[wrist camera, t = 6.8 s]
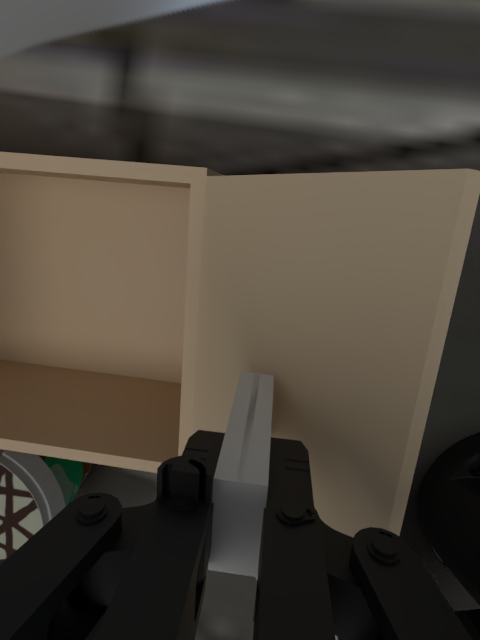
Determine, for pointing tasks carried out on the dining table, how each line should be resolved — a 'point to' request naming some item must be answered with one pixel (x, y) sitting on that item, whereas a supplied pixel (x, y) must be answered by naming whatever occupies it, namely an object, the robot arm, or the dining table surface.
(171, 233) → the carton
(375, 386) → the flap
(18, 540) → the food container
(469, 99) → the dining table surface
